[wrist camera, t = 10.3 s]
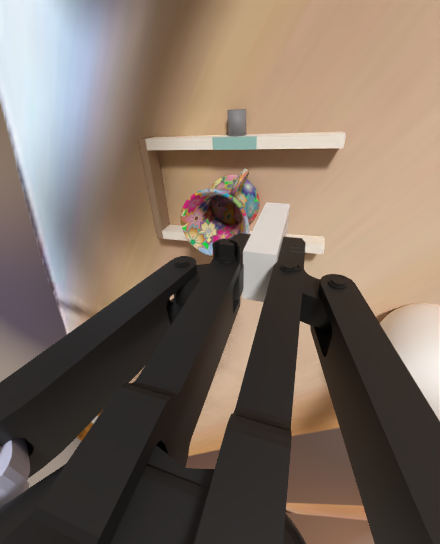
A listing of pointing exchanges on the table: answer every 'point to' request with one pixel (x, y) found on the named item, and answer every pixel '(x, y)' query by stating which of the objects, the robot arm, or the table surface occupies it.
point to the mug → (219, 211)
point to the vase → (418, 346)
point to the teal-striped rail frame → (232, 141)
